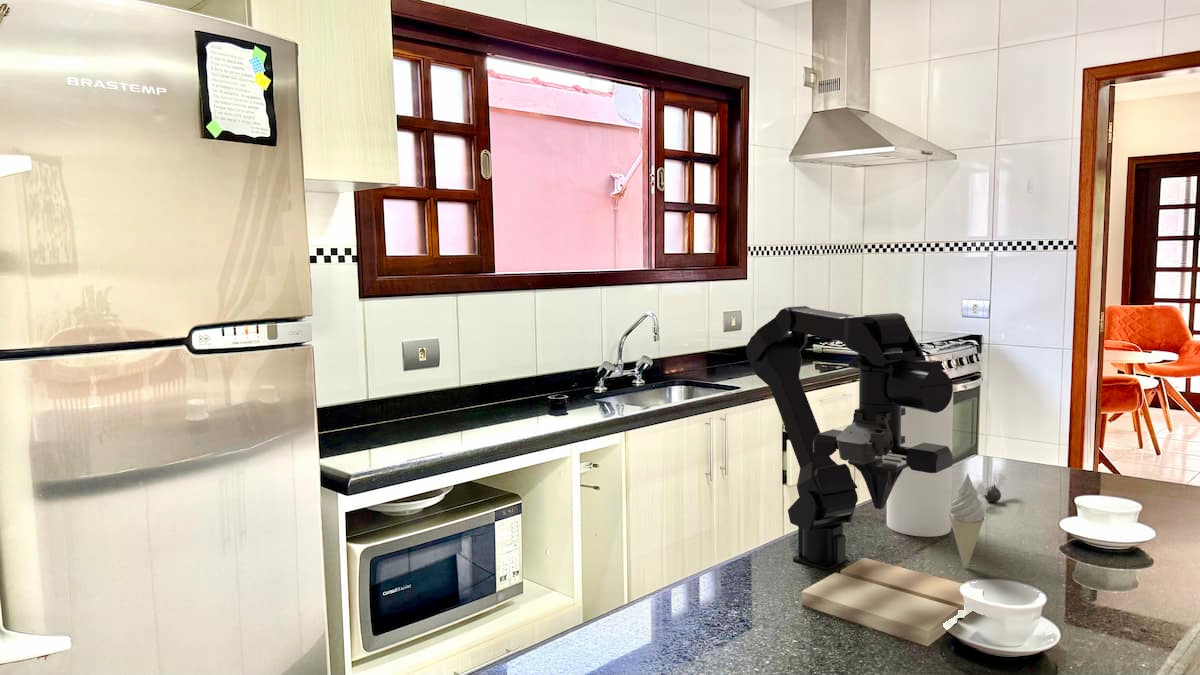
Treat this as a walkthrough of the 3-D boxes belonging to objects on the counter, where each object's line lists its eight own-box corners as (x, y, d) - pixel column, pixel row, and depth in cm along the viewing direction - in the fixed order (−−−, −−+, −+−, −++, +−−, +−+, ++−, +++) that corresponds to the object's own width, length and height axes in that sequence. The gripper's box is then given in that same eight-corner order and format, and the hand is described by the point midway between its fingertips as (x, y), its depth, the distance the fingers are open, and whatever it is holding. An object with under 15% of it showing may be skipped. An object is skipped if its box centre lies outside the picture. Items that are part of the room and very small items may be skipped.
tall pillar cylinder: (964, 531, 143) (967, 389, 141) (916, 540, 139) (918, 394, 137) (920, 514, 153) (921, 381, 151) (873, 522, 149) (874, 386, 147)
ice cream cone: (968, 577, 123) (970, 479, 122) (940, 566, 128) (942, 471, 126) (991, 570, 125) (993, 474, 124) (962, 560, 130) (964, 467, 128)
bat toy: (965, 508, 156) (966, 484, 155) (1001, 493, 165) (1002, 470, 165) (981, 512, 153) (981, 487, 153) (1017, 496, 163) (1017, 472, 162)
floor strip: (838, 584, 122) (838, 571, 121) (863, 570, 127) (864, 557, 127) (961, 620, 109) (961, 606, 109) (984, 603, 114) (984, 589, 114)
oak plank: (801, 605, 115) (801, 591, 115) (835, 585, 121) (835, 572, 121) (927, 646, 102) (928, 631, 102) (958, 622, 108) (958, 607, 108)
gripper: (792, 402, 118) (792, 508, 120) (918, 418, 105) (916, 537, 106) (832, 392, 126) (832, 491, 127) (954, 405, 113) (953, 516, 114)
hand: (879, 508), depth 119 cm, fingers closed
